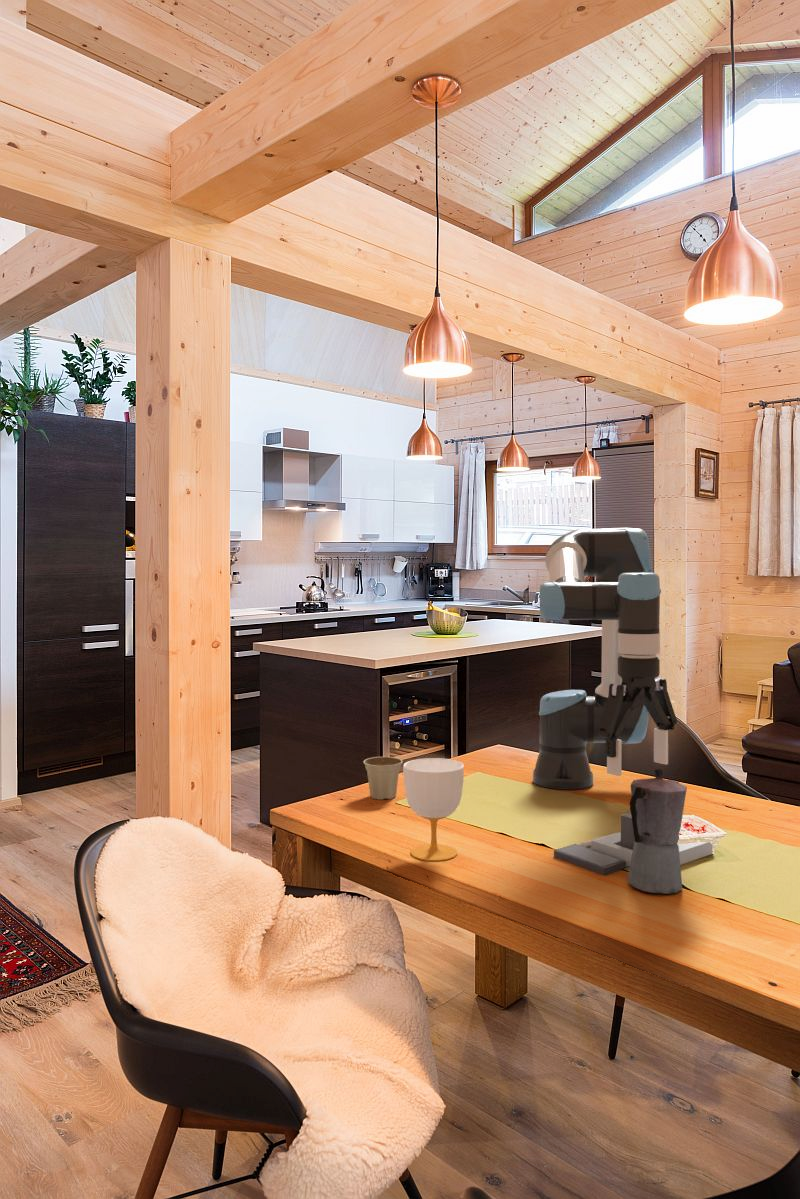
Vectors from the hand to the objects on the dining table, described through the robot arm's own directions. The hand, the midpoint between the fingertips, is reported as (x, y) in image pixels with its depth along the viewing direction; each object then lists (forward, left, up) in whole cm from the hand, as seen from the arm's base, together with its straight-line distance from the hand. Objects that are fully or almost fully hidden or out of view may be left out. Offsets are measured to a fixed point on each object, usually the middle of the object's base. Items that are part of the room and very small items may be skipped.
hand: (638, 768), depth 153 cm
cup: (+29, -25, -17) cm, 42 cm away
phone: (+9, -4, -17) cm, 19 cm away
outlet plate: (-4, 0, -17) cm, 17 cm away
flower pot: (+14, -64, -17) cm, 67 cm away
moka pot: (+10, +11, -17) cm, 22 cm away
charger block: (0, 0, -17) cm, 17 cm away
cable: (0, -10, -17) cm, 19 cm away
